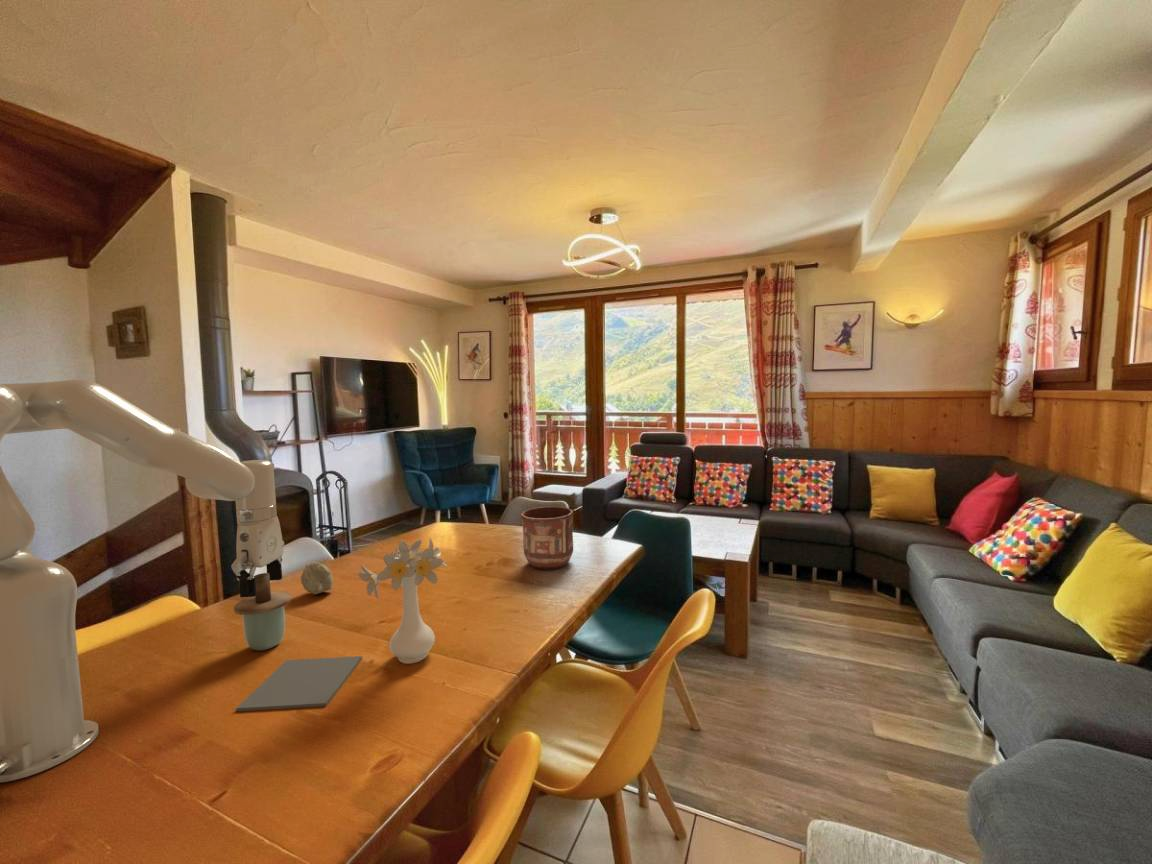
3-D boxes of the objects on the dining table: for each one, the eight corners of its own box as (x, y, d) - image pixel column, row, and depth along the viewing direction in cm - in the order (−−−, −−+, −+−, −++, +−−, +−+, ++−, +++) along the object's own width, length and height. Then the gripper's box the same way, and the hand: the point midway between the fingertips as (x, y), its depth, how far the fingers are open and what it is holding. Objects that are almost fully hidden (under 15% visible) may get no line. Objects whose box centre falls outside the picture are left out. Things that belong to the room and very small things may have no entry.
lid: (274, 613, 102) (271, 583, 102) (222, 616, 102) (219, 585, 101) (300, 593, 113) (299, 565, 113) (254, 595, 113) (252, 568, 112)
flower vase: (354, 672, 96) (347, 553, 95) (424, 633, 112) (419, 530, 111) (396, 690, 90) (389, 562, 88) (464, 646, 105) (459, 537, 104)
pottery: (518, 559, 164) (516, 508, 163) (566, 553, 169) (564, 504, 168) (528, 577, 147) (526, 521, 146) (581, 569, 152) (579, 515, 151)
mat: (326, 706, 85) (326, 702, 85) (236, 711, 85) (235, 708, 85) (362, 658, 101) (361, 656, 101) (286, 662, 101) (286, 660, 100)
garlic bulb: (332, 597, 135) (330, 564, 134) (298, 603, 132) (296, 568, 131) (336, 586, 144) (334, 554, 143) (304, 591, 141) (302, 558, 140)
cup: (266, 656, 103) (263, 612, 103) (237, 653, 105) (233, 610, 104) (294, 639, 111) (291, 598, 111) (266, 636, 113) (263, 596, 112)
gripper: (249, 523, 98) (255, 603, 99) (294, 505, 115) (299, 573, 116) (212, 524, 97) (218, 604, 98) (263, 506, 115) (268, 575, 116)
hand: (262, 587), depth 107 cm, fingers open, 9 cm apart
